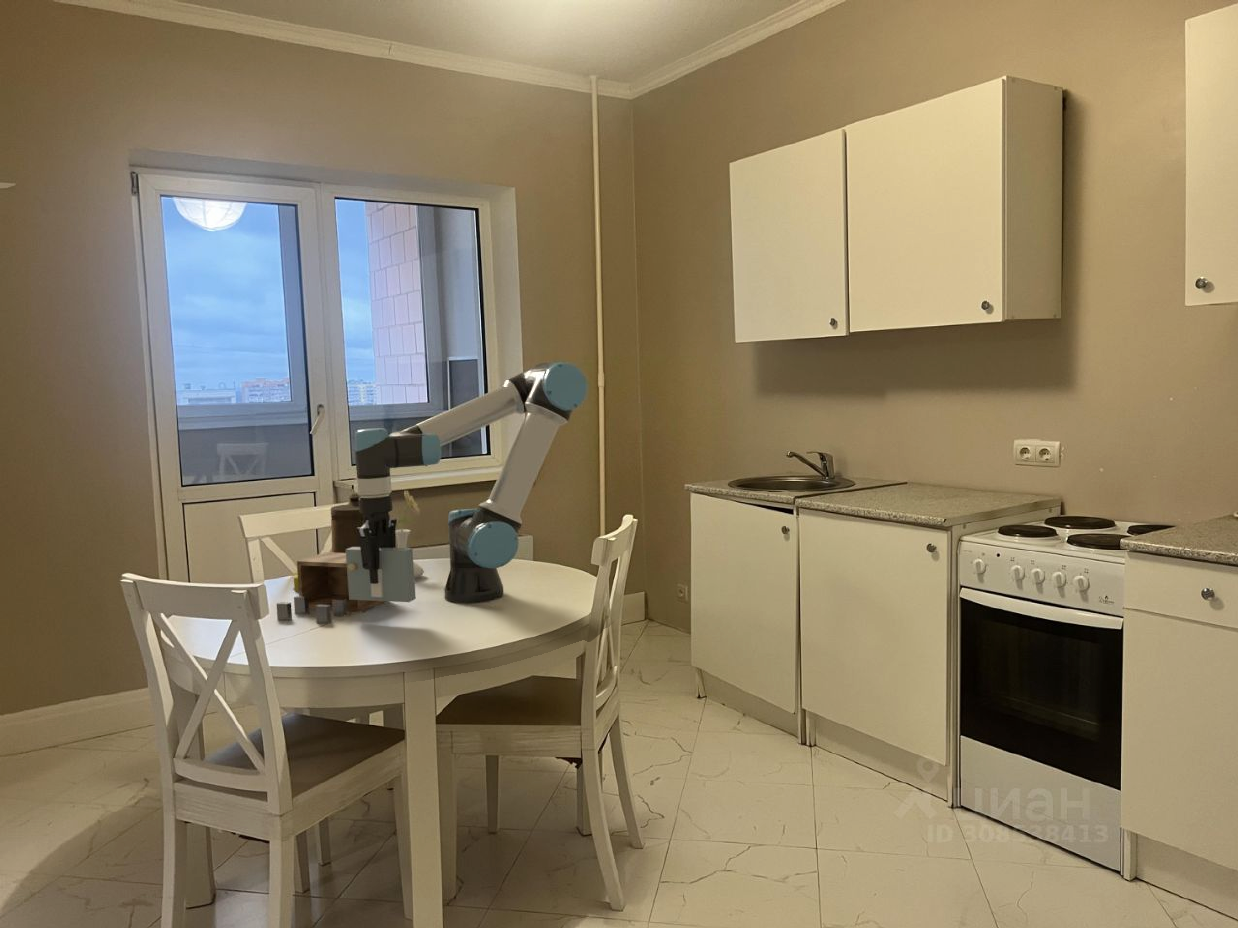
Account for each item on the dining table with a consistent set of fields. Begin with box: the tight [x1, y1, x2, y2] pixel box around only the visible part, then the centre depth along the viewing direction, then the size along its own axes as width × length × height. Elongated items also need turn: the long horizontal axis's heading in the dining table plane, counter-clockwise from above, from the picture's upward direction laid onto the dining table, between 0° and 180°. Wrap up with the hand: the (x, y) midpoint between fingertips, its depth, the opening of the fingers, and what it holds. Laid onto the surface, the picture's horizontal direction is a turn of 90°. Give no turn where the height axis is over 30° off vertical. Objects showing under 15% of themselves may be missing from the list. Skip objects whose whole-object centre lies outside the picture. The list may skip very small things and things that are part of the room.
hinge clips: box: [276, 595, 348, 624], centre depth 225 cm, size 14×8×4 cm, turn 72°
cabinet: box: [296, 551, 387, 613], centre depth 237 cm, size 18×12×12 cm, turn 72°
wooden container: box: [330, 493, 375, 553], centre depth 287 cm, size 15×15×22 cm
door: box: [346, 547, 417, 603], centre depth 218 cm, size 16×4×12 cm, turn 72°
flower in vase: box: [395, 490, 425, 579], centre depth 266 cm, size 13×11×25 cm
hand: (381, 594), depth 219 cm, fingers closed on door, 3 cm apart
